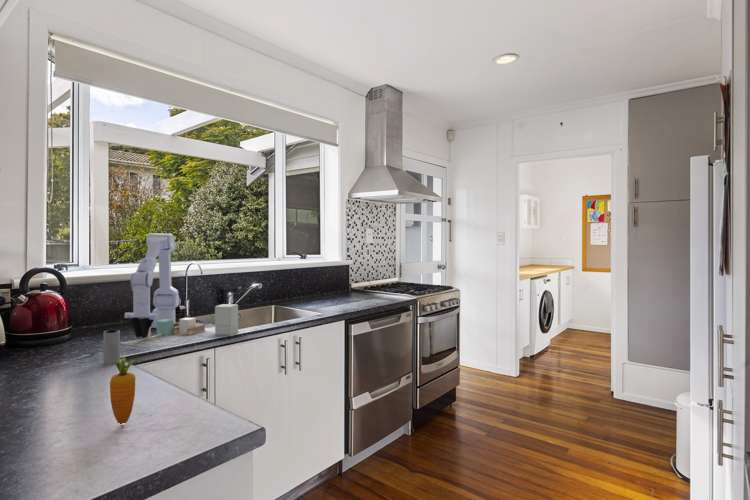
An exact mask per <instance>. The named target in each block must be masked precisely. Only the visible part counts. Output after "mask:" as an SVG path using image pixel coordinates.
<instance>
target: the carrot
mask: <svg viewBox="0 0 750 500" xmlns="http://www.w3.org/2000/svg"><path fill="white" fill-rule="evenodd" d="M126 362H127V359H126V358H125V357H124V356H123V357H120V362H119V361H117V362H116V364H115V365H116V368H117V370H118V372H119V373H116V374H114V375H112V376H111V379H110V381H109V395H110V405H111V409H112V410H111V411H112V413H113V416H114V418H115V421H116V422H117V423H118V424H119V423H120V424H122V423H126V422H127V423H128V421H129V419H130V416H131V414H132V412H133V407H134V401H135V395H136V393H135V392H136V375H135V374H134V373H133V372H128V370H129V369H130V367H131V366H132V365H133V364H134V363H136V360H135V359H133V360H131V361H129V363H128V364H126ZM127 423H126V424H127Z"/></svg>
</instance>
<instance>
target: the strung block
mask: <svg viewBox="0 0 750 500" xmlns="http://www.w3.org/2000/svg"><path fill="white" fill-rule="evenodd" d="M173 328H174V327H173V319H162V320H158V321H156V328H155V329H156V334H154V335H152V333H151V328H150V329H149V332H148V336H147V337H145V338H143V340H144V341H149V340H151V339H155V338H159V337H167V336H170V335H174V334H173ZM151 335H152V336H151Z"/></svg>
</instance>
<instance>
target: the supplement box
mask: <svg viewBox="0 0 750 500" xmlns="http://www.w3.org/2000/svg"><path fill="white" fill-rule="evenodd" d="M238 333H239V304H236V303H235V304H234V303H233V304H232V303H225V304H224V303H222V304H218V305H216V306H214V335H215V336H229V337H233V336H235V335H237V334H238Z"/></svg>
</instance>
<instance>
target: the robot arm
mask: <svg viewBox="0 0 750 500" xmlns="http://www.w3.org/2000/svg"><path fill="white" fill-rule="evenodd" d="M145 242H146V243H145V244H146V246H147V250H146V254H145V257H143V258H141V260H140V262H139V265H138V266H137V268H136V271H134V273H132V274H131V275H130V284H131V292H133V293H132V295H133V298H132V299H133V301H132V302H133V305H132V306H133V312H124V319H130V320H129V323H130V325H131V326H132V328H133V331H134V334H135V337H136V338H142V339H144V338H145V337H147V336H148V332H149V329H150V330H151V329H152V328H155V329H157V328H156V321H158V320H162V319H173V323H175V322H176V308H177V307H179V305H180V296H179V290H178V289H176V288H175V287H173V285H172V261H171V255H172V253H171V252H173V251H175V236H174V235H173V233H151V232H149V233H148V234H147V235H146V239H145ZM157 257H158V275H159V277H158V278H159V281H158V282H159V287H158V288H157V289H156V290H155V291H154V292H153V300H152V304H153V306H154V309H152V311H151V286H152V285H153V281H154V272H155V268H156V266H157V262H156V259H157Z"/></svg>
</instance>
